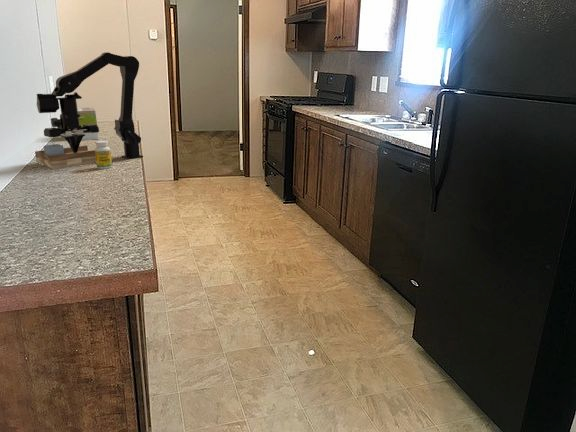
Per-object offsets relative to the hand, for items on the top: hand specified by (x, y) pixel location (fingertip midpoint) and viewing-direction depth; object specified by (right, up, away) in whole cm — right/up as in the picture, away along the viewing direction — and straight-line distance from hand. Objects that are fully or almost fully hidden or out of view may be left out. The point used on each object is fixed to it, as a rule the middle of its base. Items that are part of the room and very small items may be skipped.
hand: (75, 153), depth 180 cm
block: (-5, -3, -5) cm, 8 cm away
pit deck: (-3, -3, +2) cm, 5 cm away
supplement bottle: (+14, -6, -6) cm, 17 cm away
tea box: (-21, +16, +62) cm, 67 cm away
